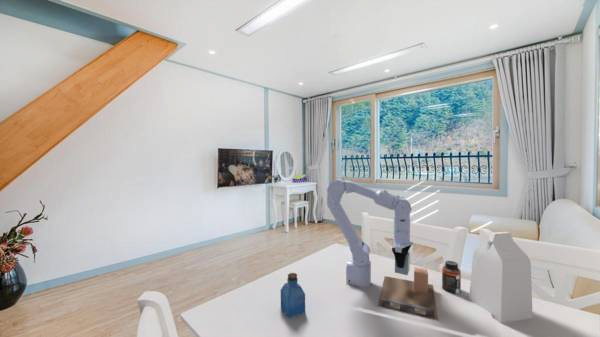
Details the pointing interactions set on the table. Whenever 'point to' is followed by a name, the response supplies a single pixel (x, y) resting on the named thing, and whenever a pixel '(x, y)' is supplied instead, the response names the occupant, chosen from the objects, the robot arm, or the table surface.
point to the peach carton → (420, 279)
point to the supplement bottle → (451, 277)
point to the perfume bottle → (292, 296)
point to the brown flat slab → (407, 298)
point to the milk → (502, 279)
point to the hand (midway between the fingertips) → (401, 264)
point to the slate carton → (406, 266)
